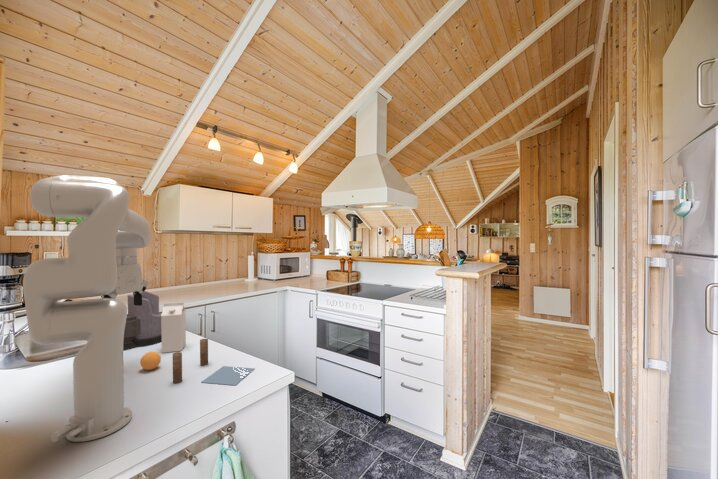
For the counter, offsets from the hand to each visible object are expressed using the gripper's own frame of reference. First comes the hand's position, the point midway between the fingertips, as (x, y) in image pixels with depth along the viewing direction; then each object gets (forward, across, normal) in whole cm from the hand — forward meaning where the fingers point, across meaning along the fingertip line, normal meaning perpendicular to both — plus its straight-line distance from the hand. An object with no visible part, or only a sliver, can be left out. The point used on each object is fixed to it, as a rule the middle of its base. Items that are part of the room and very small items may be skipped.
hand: (125, 308), depth 111 cm
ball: (+18, 0, -12) cm, 21 cm away
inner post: (+20, -6, -28) cm, 35 cm away
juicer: (+21, +17, +18) cm, 33 cm away
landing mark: (+20, +2, -42) cm, 46 cm away
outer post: (+20, +7, -27) cm, 35 cm away
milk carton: (+21, +17, -4) cm, 27 cm away
